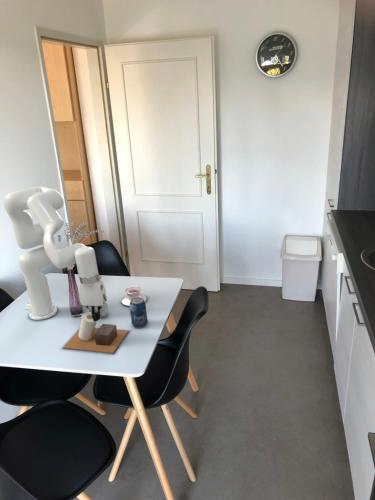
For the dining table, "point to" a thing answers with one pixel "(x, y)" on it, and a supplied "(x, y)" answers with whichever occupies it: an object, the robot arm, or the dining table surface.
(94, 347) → the cork mat
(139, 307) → the soda can
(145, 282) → the dining table surface
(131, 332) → the dining table surface
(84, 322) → the paper roll
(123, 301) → the teacup
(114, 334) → the walnut block
